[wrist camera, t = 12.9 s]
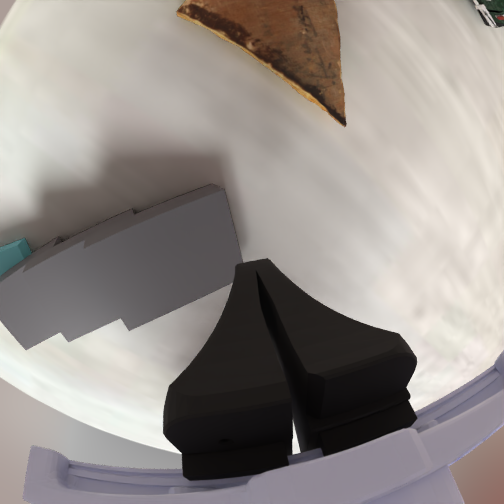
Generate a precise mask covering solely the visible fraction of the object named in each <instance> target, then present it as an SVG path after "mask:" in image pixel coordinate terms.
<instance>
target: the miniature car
mask: <svg viewBox="0 0 504 504" xmlns="http://www.w3.org/2000/svg"><path fill="white" fill-rule="evenodd" d="M473 1H474V3H475V4H476V5H475V8H476V9H479V10H480V11H481V12H480V14H481V16H482V18H483V20H484V22H485V24H486V25H487V26H491V27H496V28H497V27H502V26H504V0H473Z"/></svg>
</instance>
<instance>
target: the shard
mask: <svg viewBox="0 0 504 504" xmlns="http://www.w3.org/2000/svg"><path fill="white" fill-rule="evenodd" d="M177 16H178V17H181V18H183V19H185V20H188V21H191V22H193V23H195V24H197V25H200V26H202V27H205V28H207V29H208V30H210V31H212V32H213V33H215V34H216V35H217V36H218V37H220V38H222V39H224V40H226V41H228V42H230V43H232V44H235V45H237V46H239V47H240V48H241V49H242V50H243V51H245V52H246V53H248V54H249V55H251V56H252V57H254V58H255V59H256V60H257V61H259V62H260V63H261V64H262V65H263V66H265V67H267V68H269V69H270V70H271V71H272V72H274V73H275V74H276V75H278V76H279V77H281V78H282V79H283V80H284V81H285V82H287V83H289V84H290V85H291V86H292V88H294V89H295V90H296V91H297V92H298V93H299V94H301V95H303V96H304V97H305V98H307V99H308V100H309V101H311V102H313V103H315V104H317V105H318V106H319V107H320V108H321V109H322V110H324V111H326V112H328V114H329V115H330V116H331V117H332V118H333V119H335V120H336V121H337V122H338V123H339V124H341V125H342V126H344V127H346V116H345V102H344V96H345V93H344V88H343V83H342V79H341V74H342V72H341V60H340V33H339V28H338V22H337V8H336V4H335V2H334V0H185V2H184V3H183V4H182V5H181V6H180V7H179V9H178V10H177Z"/></svg>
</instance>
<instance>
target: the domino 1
mask: <svg viewBox="0 0 504 504" xmlns="http://www.w3.org/2000/svg"><path fill="white" fill-rule="evenodd" d="M30 254H32V253H31V250H30V248H29V246H28V244H27V242H26V239H25V238H23V239H21V240H18V241H15V242H13V243H10V244H7V245H5V246H2V247H0V276H1V275H2V274H3V273H5V272H6V271H7V270H9V269H10V268H12V267H13V266H14V265H16V264H17V263H19V262H20V261H22V260H23V259H25V258H26V257H27V256H29V255H30Z"/></svg>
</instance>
